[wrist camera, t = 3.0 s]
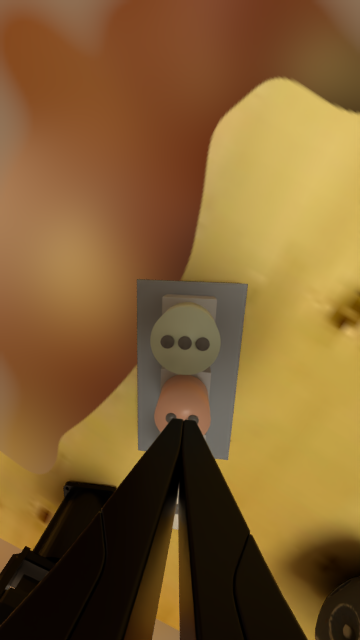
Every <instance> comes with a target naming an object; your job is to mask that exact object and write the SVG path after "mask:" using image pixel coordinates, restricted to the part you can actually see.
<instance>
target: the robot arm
mask: <svg viewBox="0 0 360 640" xmlns="http://www.w3.org/2000/svg"><path fill="white" fill-rule="evenodd" d="M178 490H179V494H178ZM64 497H65V498H64V500H63V501H62V503H61V505H60V506H59V508H58V510H57V511H56V513H55V515H54V516H53V518H52V520H51V521H50V523H49V525H48V526H47V528H46V530H45V531H44V533H43V534H42V536H41V538H40V539H39V541H38V543H37V544H36V546H35V548H34V549H33V551H31V550H30V549H31V548H29V547H27V546H25V548H24V549H23V551H22V552H21V553H19V554H13V555H12V557H11V558H10V560H9V561H8V563H7V564H6V566H5V567H4V569H3V570H2V572H1V573H0V640H152V635H153V631H154V625H155V620H156V614H157V609H158V603H159V598H160V592H161V587H162V582H163V576H164V571H165V565H166V560H167V554H168V549H169V543H170V538H171V533H172V527H173V522H174V516H175V511H176V505H177V499H178V533H179V610H180V640H308V639H307V637H306V636H305V634H304V632H303V630H302V629H301V627H300V625H299V623H298V621H297V620H296V618H295V616H294V614H293V613H292V611H291V609H290V607H289V605H288V604H287V602H286V600H285V598H284V597H283V595H282V593H281V591H280V589H279V587H278V585H277V583H276V581H275V579H274V577H273V575H272V573H271V571H270V570H269V568H268V566H267V564H266V562H265V560H264V558H263V556H262V554H261V552H260V550H259V548H258V546H257V544H256V542H255V540H254V538H253V536H252V535H251V534H250V530H249V528H248V526H247V524H246V522H245V520H244V518H243V516H242V514H241V511H240V509H239V507H238V505H237V503H236V501H235V499H234V497H233V495H232V493H231V491H230V489H229V487H228V485H227V483H226V481H225V479H224V477H223V475H222V473H221V471H220V469H219V467H218V465H217V463H216V461H215V459H214V456H213V454H212V452H211V450H210V448H209V446H208V444H207V442H206V440H205V438H204V436H203V434H202V432H201V430H200V428H199V426H198V424H197V422H196V421H195V420H188V419H185V420H183V419H179V418H172V419H171V420H170V422H169V423H168V424H167V425H166V427H165V428H164V429H163V431H162V432H161V433H160V434H159V436H158V437H157V438H156V439H155V441H154V442H153V443H152V445H151V446H150V447H149V448H148V450H147V451H146V452H145V454H144V455H143V456H142V457H141V459H140V460H139V461H138V462H137V464H136V465H135V466H134V468H133V469H132V470H131V471H130V473H129V474H128V475H127V476H126V478H125V479H124V480H123V482H122V483H121V484H120V485H119V487H118V488H117V489H115V488H113V487H106V486H98V485H90V484H82V483H74V482H67V483H66V484H65V486H64ZM10 586H12V587H14V588H15V589H13V588H10Z"/></svg>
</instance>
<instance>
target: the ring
mask: <svg viewBox="0 0 360 640" xmlns="http://www.w3.org/2000/svg"><path fill="white" fill-rule="evenodd" d="M315 639H316V640H360V577H355V578H351V579H349V580H347V581H346V582H344V583H343V584H341V585H340V586H339V587H337V588H336V589H335V590H334V591H333V592H331V593H330V595H329V596H328V597H327V598H326V600H325V602H324V604H323V605H322V608H321V610H320V613H319V615H318V619H317V624H316V628H315Z"/></svg>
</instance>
